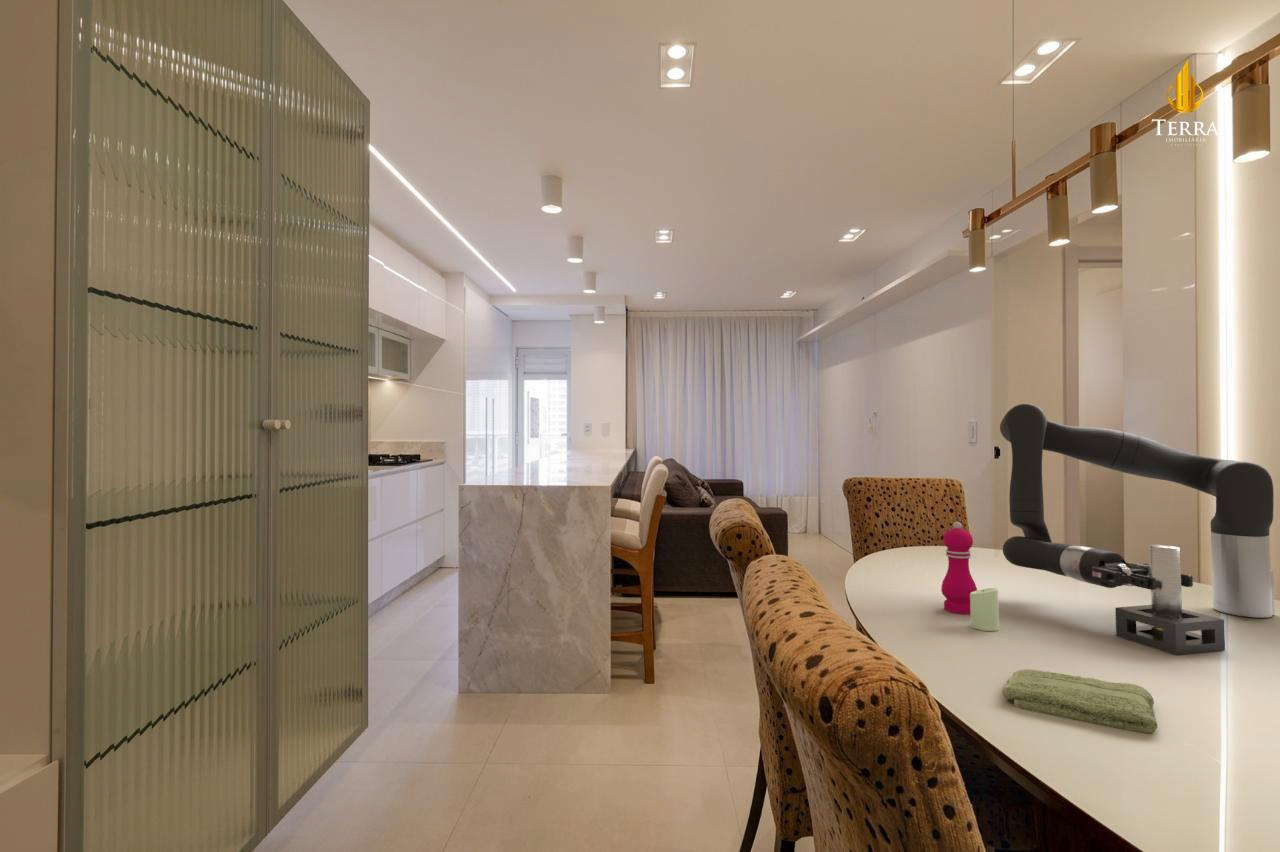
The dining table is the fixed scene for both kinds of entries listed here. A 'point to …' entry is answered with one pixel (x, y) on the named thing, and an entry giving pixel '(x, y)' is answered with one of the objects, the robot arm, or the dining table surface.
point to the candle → (984, 609)
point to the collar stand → (1171, 630)
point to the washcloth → (1083, 699)
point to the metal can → (1165, 584)
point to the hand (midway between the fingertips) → (1173, 582)
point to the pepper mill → (958, 571)
